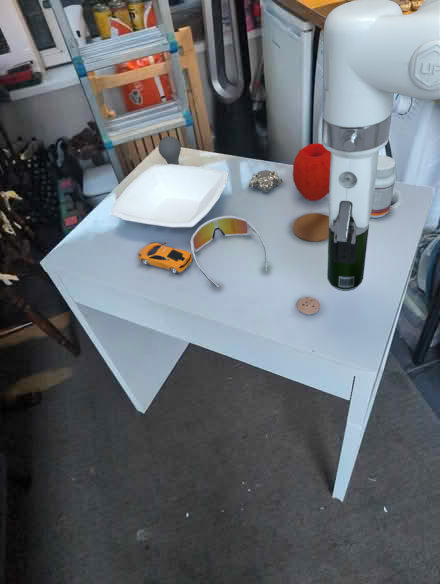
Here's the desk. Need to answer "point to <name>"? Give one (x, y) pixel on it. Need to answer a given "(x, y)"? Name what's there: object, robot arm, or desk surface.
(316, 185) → the apple
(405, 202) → the desk surface
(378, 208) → the pill bottle
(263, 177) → the ornament
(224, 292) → the desk surface
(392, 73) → the robot arm
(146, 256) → the toy car
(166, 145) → the light bulb
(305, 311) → the cookie
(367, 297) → the desk surface
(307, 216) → the coaster
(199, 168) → the bowl
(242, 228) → the sunglasses
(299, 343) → the desk surface
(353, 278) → the beer can
